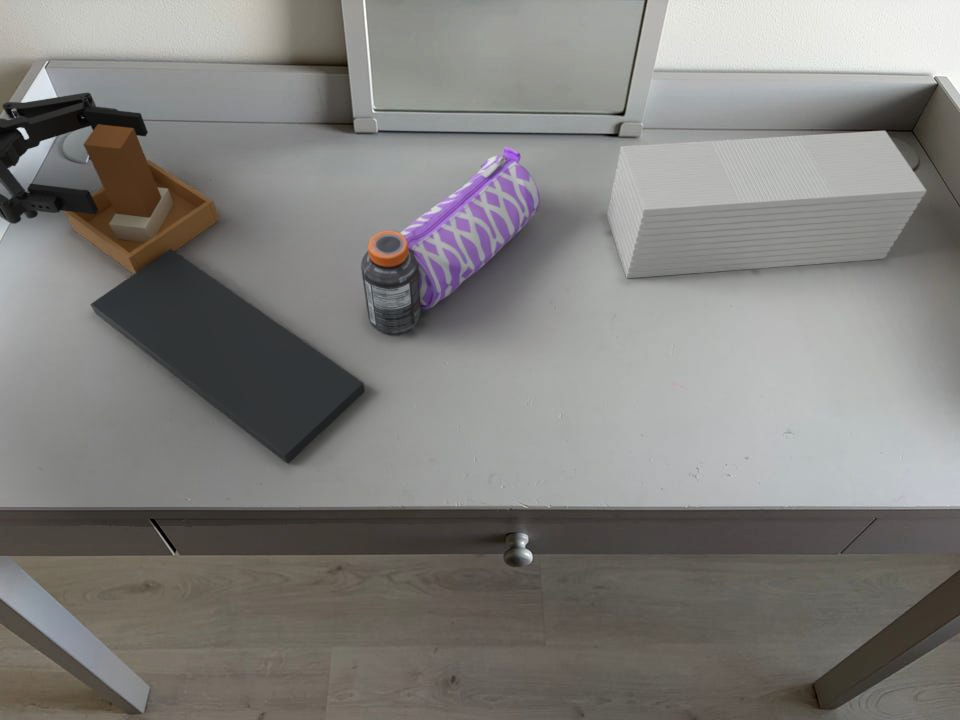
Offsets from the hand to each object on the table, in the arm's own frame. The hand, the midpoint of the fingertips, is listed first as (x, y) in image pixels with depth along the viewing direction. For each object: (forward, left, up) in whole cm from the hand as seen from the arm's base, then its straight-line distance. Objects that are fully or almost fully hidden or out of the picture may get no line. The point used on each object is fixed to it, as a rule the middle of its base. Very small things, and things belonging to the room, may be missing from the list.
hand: (119, 161), depth 87 cm
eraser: (0, 0, -9) cm, 9 cm away
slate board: (-7, -22, -10) cm, 25 cm away
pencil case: (+20, -33, -10) cm, 40 cm away
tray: (0, 0, -10) cm, 10 cm away
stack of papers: (+45, -58, -10) cm, 74 cm away
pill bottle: (+8, -33, -10) cm, 35 cm away
